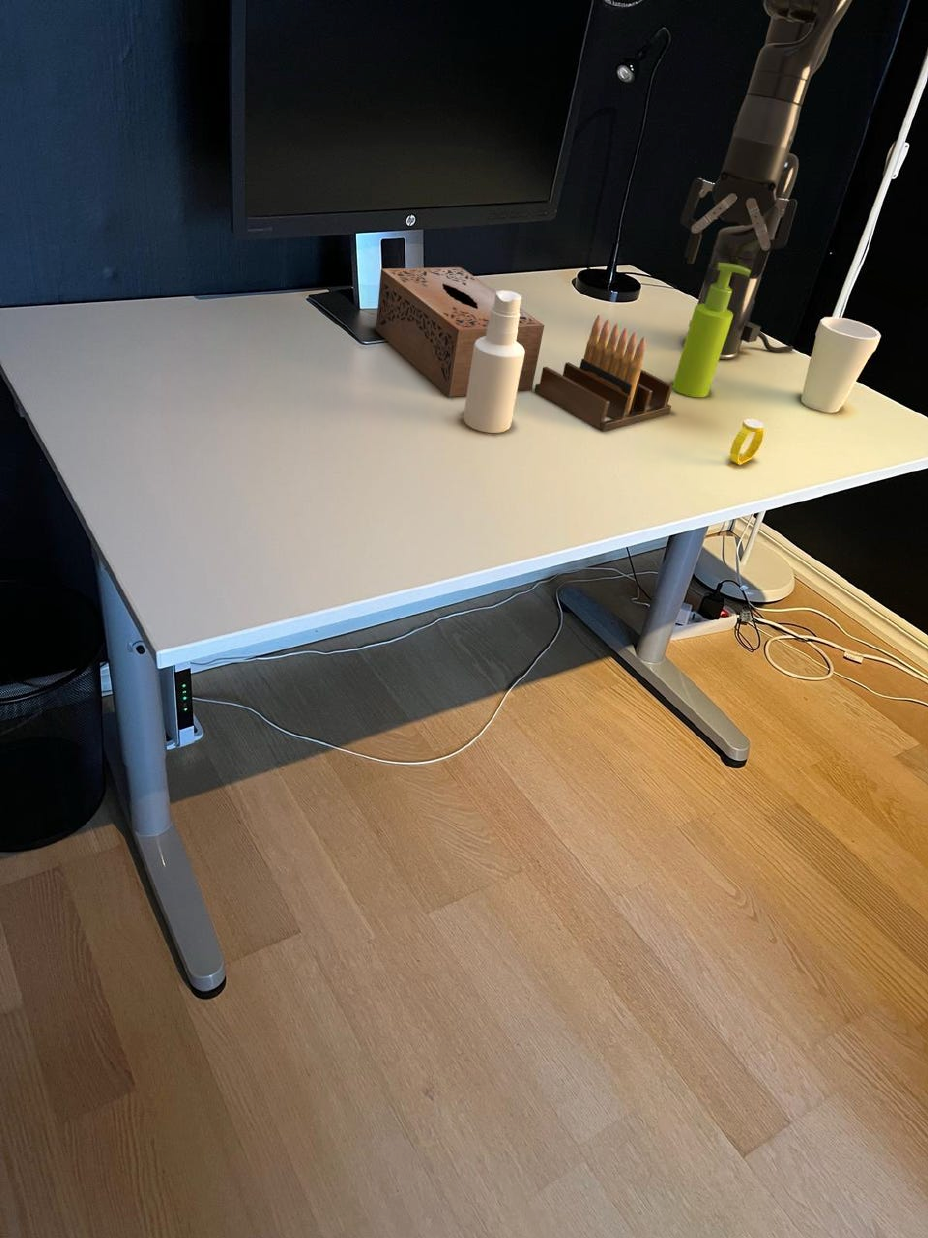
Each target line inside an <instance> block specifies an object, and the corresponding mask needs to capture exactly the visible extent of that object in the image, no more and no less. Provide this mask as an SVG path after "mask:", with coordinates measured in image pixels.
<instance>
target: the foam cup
mask: <svg viewBox="0 0 928 1238" xmlns="http://www.w3.org/2000/svg"><path fill="white" fill-rule="evenodd" d="M814 336H815V339H814V342H813V348H812V351H811V352H812V353H811V355H810V360H809V365H808V367H807V373H806V377H805V380H804V385H803V389H802V392H801V398H800V400H801V403H803V404H804V405H805V407H809V408H810V409H812V410H815V411H818V412H822V413H829V414H832V413H833V414H834V413H837V412H839V411H840V410H841V408H842V406H843V405H844V403H845V401H846V400H847V397H848V396H849V394H850V393H851V391H852V389H853V388H854V385H855V384H856V382H857V381H858V378H859V377H860V375H861V374H862V371H863V370H864V368H865V366H866V364H867V363H868V360H869V359H870V358H871V356H872V354H873V353H874V352H875V351H876V349H877V347H878V345H879V342H880V339H881V337H882V335H881V333H880V332H879V331H878V329H875V328H874V327H872V326H870V325H868V324H865V323H863V322H860V321H858V320H857V321H856V320H853V319H849V318H845V317H838V316H837V317H836V316H824V317H823V318H822V319H820V320H819V323H818V326H817V328H816V331H815V334H814Z"/></svg>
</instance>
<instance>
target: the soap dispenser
mask: <svg viewBox="0 0 928 1238" xmlns="http://www.w3.org/2000/svg"><path fill="white" fill-rule="evenodd" d="M718 270H721V271H720V275H719V278H718V281H717V283H715V284H712V285H711V286H710V288H709V292H708V295H707V298H706V302H705V304H698V305H697V304H695V307H694V311H693V314H692V317H691V319H690V321H691V324H690V323H689V324H690V327H689V326H688V327H689V328H688V330H687V334H686V338H685V342H684V345H683V348H682V352H681V355H680V359H679V362H678V365H677V368H676V371H675V376H674V378H673V382H672V386H673V387H672V389H673V390H674V391H676V392H677V393H679V394H681V395H683V396H687V397H690V398H691V397H692V398H706V397H707V396H708V395H709V392H710V389H711V387H712V383H713V381H714V376H715V373H716V371H717V368H718V364H719V361H720V359H719V358H720V355H721V352H722V349H723V346H724V342H725V339H726V336H727V333H728V330H729V327H730V324H731V320H732V317H733V313H732V312H731V311H729V310H728V309H727V306H728V303H729V299H730V296H731V293H732V289H731V288H730V287H729V286H728V284H729V280H730V277H731V274H732V272H736V273H741V274H744V275H746V276H750V273H751V270H749V269H747V268H744V267H742V266H738V265H734V264H726V263H719V264H718Z"/></svg>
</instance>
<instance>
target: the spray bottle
mask: <svg viewBox="0 0 928 1238" xmlns="http://www.w3.org/2000/svg"><path fill="white" fill-rule="evenodd" d="M522 299H523V297H522V295H521V294H519V292H516V291H512V290H506V289H504V290H503V289H502V290H497V291H496V293H495V299H494V304H493V308H492V309H491V313H490V319H489V324H488V328H487V334H486V336H484V337H481V338H479V339H478V340H476V342H475V344H474V349H473V355H472V362H471V368H470V375H469V381H468V388H467V394H466V396H465V401H464V408H463V414H462V418H463V422H464V423H465V424H466V425H467V426H468V427H470V428H471V429H473V430H476V431H479V432H483V433H487V434H488V433H489V434H497V433H498V434H499V433H503V432H506V431H508V430H510V428H511V426H512V422H513V416H514V411H515V405H516V402H517V401H516V400H517V396H518V391H517V390H518V385H519V380H520V375H521V369H522V364H523V359H524V353H525V351H524V348H523V347H522V345H520V344H519V343H518V342H517V341H516V339H517V334H518V325H519V319H520V309H521V303H522Z"/></svg>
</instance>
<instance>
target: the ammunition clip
mask: <svg viewBox="0 0 928 1238" xmlns="http://www.w3.org/2000/svg"><path fill="white" fill-rule="evenodd" d="M601 323H602V322H601V315H600V314H598V315H597V316H596V318H595V320H594V322H593V324H592V327H591V330H590V331H591V332H590V334H589V338H588V340H587V342H586V346H585V350H584V355H583V358H581V360H580V362H579V368H580V369H582V370H584V371H586V372H588V373H590V374H592V375H593V376H595V377H597V378H599V379H601V380H603V381H604V382H606V383H608V384H610V385H612V386H614V387H616V388H617V389H619V390H621V391H623V392H625V393H627V394H629V395H630V396H631V400H630V404H629V408H628V411H627V415H630V414H633V407H634V403H635V398H636V394H637V390H638V386H639V383H638V379H639V375H640V371H641V370H642V365H643V359H644V354H645V349H646V338H645V336H642V337H641V338H640V341H639V342H638V344H637V334H636V332H633V333H632V334H631V335H630V338H629V340H628V330H627V329H628V328H626V327H625V328H624V329H623V330H622V331H621V334H620V335H619V324H618V323H615V324H614V326H613V328H612V330H611V332H610V320H609V319H608V318H607V319H606V320H605V322H604V323H603V325H602V328H601ZM609 333H610V335H609ZM618 337H619V338H618ZM627 340H628V342H627ZM636 344H637V346H636Z"/></svg>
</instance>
